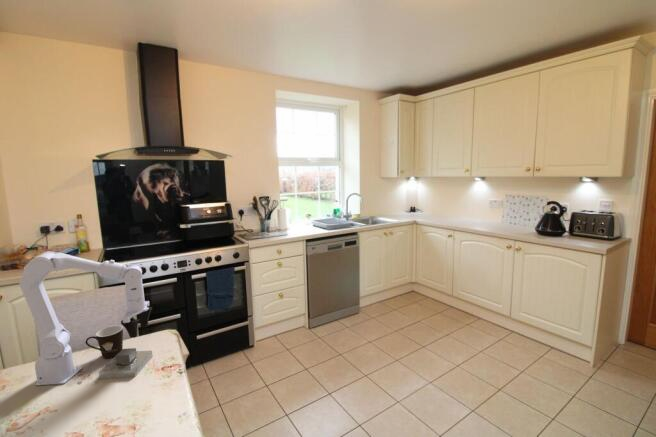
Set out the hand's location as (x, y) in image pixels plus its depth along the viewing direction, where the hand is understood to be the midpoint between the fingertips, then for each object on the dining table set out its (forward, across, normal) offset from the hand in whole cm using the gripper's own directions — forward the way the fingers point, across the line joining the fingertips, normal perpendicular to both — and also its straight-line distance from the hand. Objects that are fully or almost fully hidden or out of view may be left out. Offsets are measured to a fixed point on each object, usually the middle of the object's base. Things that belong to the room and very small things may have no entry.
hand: (139, 331), depth 117 cm
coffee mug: (+11, +3, +14) cm, 18 cm away
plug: (+10, -6, +2) cm, 12 cm away
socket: (+10, -6, +2) cm, 12 cm away
